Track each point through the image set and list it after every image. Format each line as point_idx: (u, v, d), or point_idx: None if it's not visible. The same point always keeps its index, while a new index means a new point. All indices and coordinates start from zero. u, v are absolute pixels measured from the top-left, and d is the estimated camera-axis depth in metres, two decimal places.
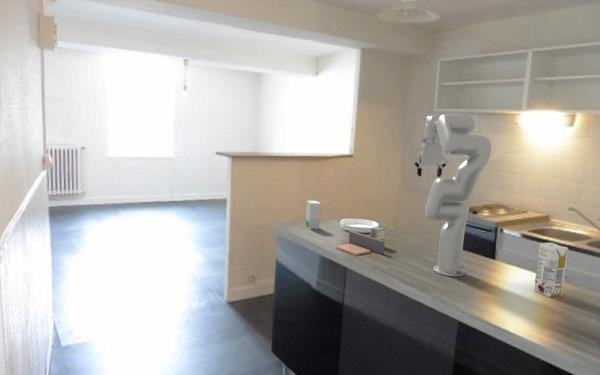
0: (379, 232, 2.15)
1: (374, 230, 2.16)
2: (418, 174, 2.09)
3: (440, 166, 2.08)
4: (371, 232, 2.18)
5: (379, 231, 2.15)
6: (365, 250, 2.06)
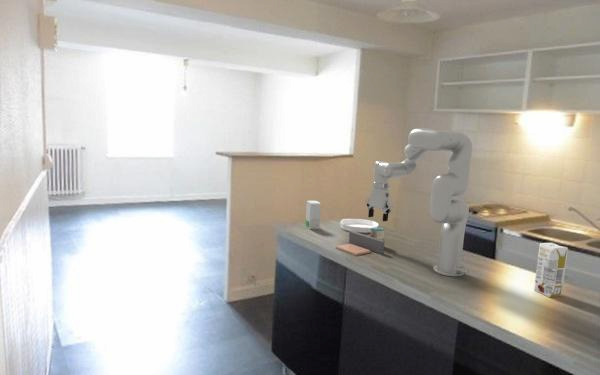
0: (379, 232, 2.15)
1: (374, 230, 2.16)
2: (386, 219, 2.13)
3: (373, 206, 2.21)
4: (371, 232, 2.18)
5: (379, 231, 2.15)
6: (365, 250, 2.06)
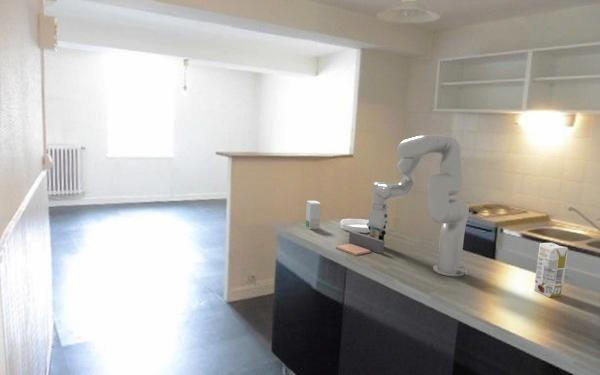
0: (379, 232, 2.15)
1: (374, 230, 2.16)
2: None
3: None
4: (371, 232, 2.18)
5: None
6: (365, 250, 2.06)
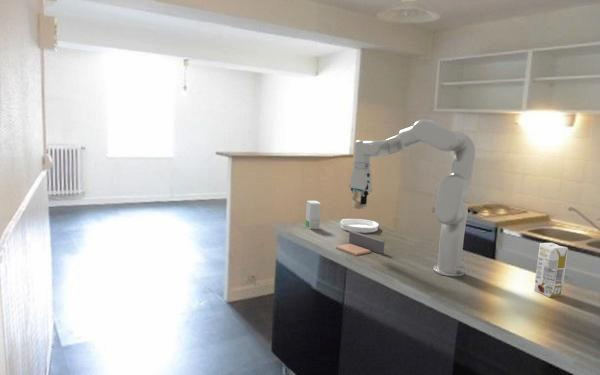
0: (361, 193, 2.04)
1: (356, 191, 2.05)
2: (364, 202, 2.04)
3: None
4: (353, 193, 2.06)
5: (361, 192, 2.03)
6: (365, 250, 2.06)
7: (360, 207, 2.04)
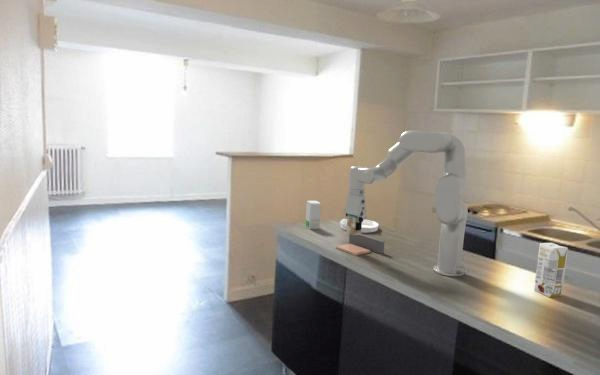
0: (356, 219, 2.04)
1: (351, 217, 2.05)
2: (359, 228, 2.05)
3: None
4: (348, 219, 2.06)
5: (356, 218, 2.04)
6: (365, 250, 2.06)
7: (355, 233, 2.05)
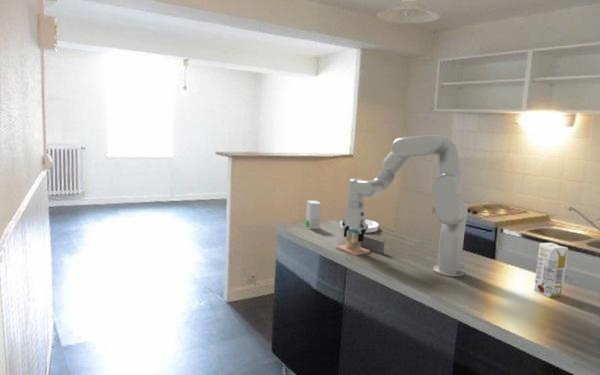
0: (355, 234, 2.05)
1: (350, 232, 2.06)
2: (361, 239, 2.04)
3: (349, 226, 2.12)
4: (347, 234, 2.07)
5: (355, 233, 2.05)
6: (365, 250, 2.06)
7: (354, 248, 2.06)
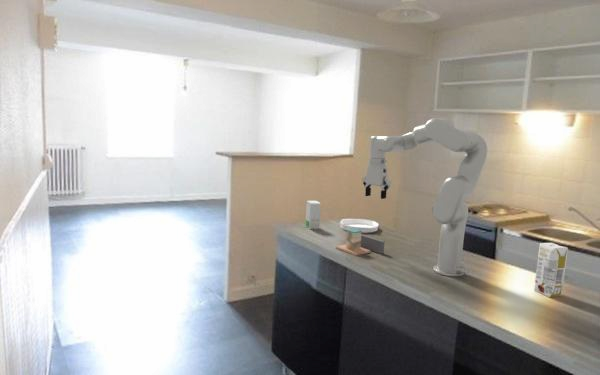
0: (355, 234, 2.05)
1: (350, 232, 2.06)
2: (384, 197, 2.02)
3: (370, 185, 2.10)
4: (347, 234, 2.07)
5: (355, 233, 2.05)
6: (365, 250, 2.06)
7: (354, 248, 2.06)
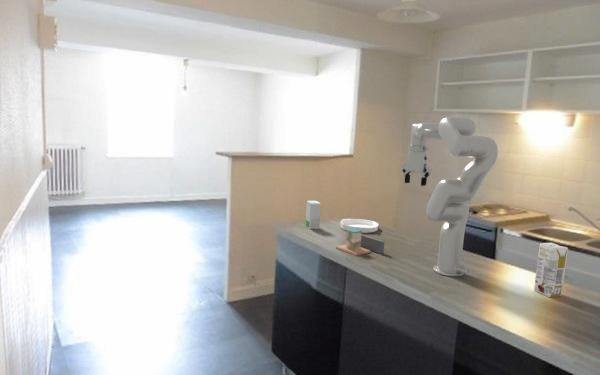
0: (355, 234, 2.05)
1: (350, 232, 2.06)
2: (424, 184, 2.05)
3: (409, 172, 2.13)
4: (347, 234, 2.07)
5: (355, 233, 2.05)
6: (365, 250, 2.06)
7: (354, 248, 2.06)
